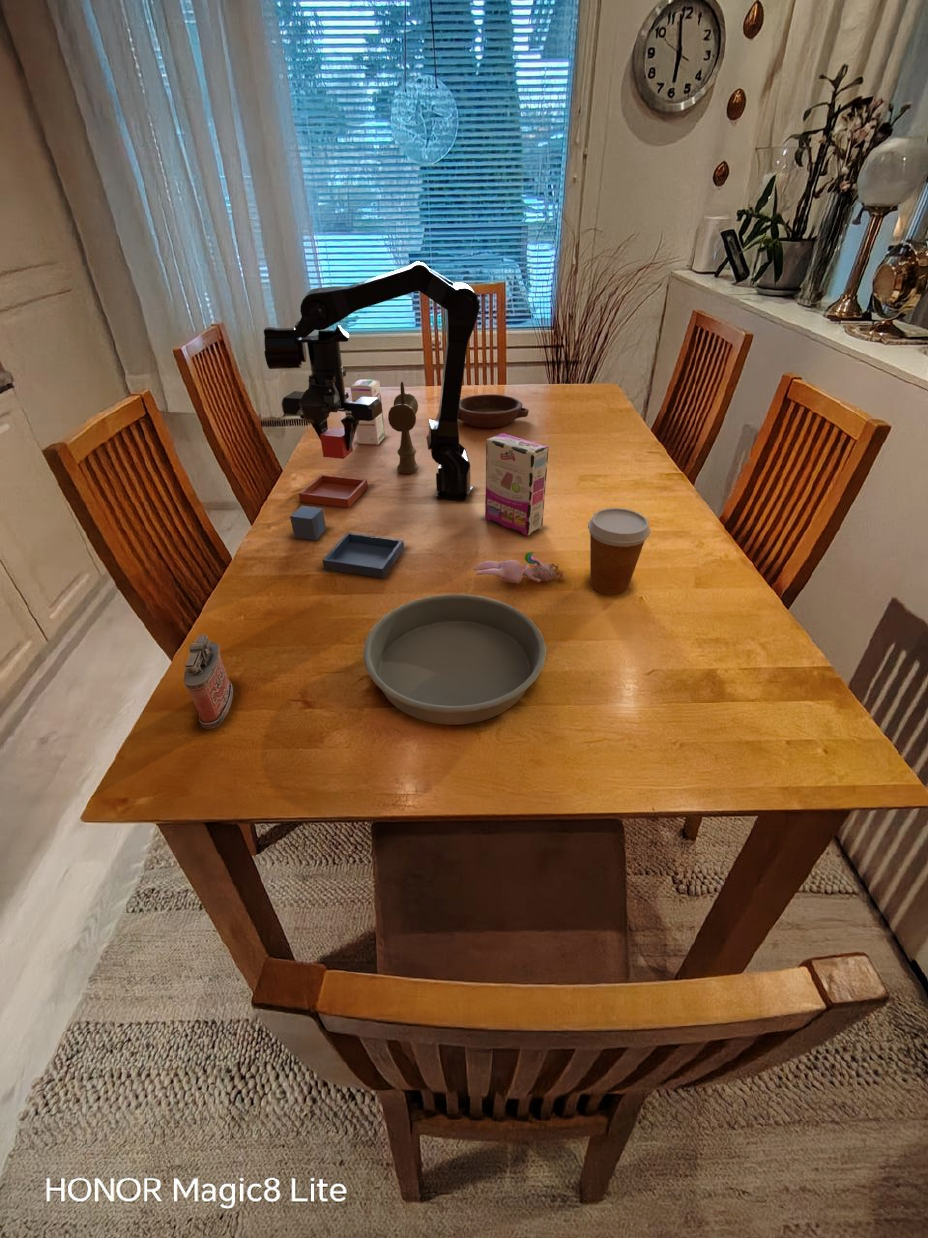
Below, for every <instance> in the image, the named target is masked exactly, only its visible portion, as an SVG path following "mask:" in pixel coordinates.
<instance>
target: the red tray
mask: <svg viewBox="0 0 928 1238" xmlns="http://www.w3.org/2000/svg"><path fill="white" fill-rule="evenodd" d="M368 488H369V483H368V479H366V478H355V477H349V476H347V477H346V476H339V475H331V474H319V475H318V476H317V477H316V478H314V479H313V481H312V482H310V483H309V484H308V485H307V486H305V487H304V488H303V489H302V490H301V491H300V492H298V498H299V502H301V503H308V504H315V505H324V506H330V507H331V506H332V507H340V508H346V509H347V508H348V509H349V508H350V507H351V506H353V504H354V503H355V502H356V501H357V500H358V499H359V498H360V497H362V495H363V494H364V492H365V491H367V490H368Z"/></svg>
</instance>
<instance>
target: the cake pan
mask: <svg viewBox="0 0 928 1238" xmlns="http://www.w3.org/2000/svg"><path fill="white" fill-rule="evenodd" d="M362 653H363V654H362V659H363V663H364V667H365V670H366V671H367V674H368V676H369V677H370V678H371V680H372V681H373V682H374V684H375V685H376V686H377V687H378V688H379V689H380V690H381V691H382V692H383V695H384V696H385V698H386V699H387V700H388V701H389V702H390V704H392V705H393V706H394V707H395V708H397V709H398V710H399V711H401V712H402V713H404V714H405V715H408V716H410V717H412V718H415V719H417V720H420V721H424V722H428V723H430V724H431V723H432V724H437V725H447V726H450V725H451V726H458V725H468V724H474V723H479V722H482V721H483V722H484V721H486V720H490V719H492V718H494V717H497V716H499V715H501V714H503V713H505V712H506V711H508V710H509V709H510V708H512V707H513V706H515V704H517V703H518V702H519V701H520V699H522V697H523V696H524V694H525V693H526V691H527V689H529V688H530V686H532V685H533V684H534V682H535V681H536V680H537V679H538V677H539V676H540V674H541V672H542V671H543V669H544V665H545V663H546V658H547V646H546V643H545V639H544V636H543V634H542V632H541V630H540V628H539V627H538V626H537V624H536V623H535V622H534V621H533V620H532V619H531V618H530V617H529V616H528V615H526V614H524V613H523V612H522V611H520V610H519V609H517V608H515V607H514V606H512V605H510V604H508V603H506V602H503V601H501V600H498V599H494V598H492V597H491V598H490V597H486V596H481V595H475V594H468V593H467V594H465V593H448V594H447V593H446V594H436V595H430V596H425V597H421V598H417V599H415V600H414V599H413V600H412V601H411V600H410V601H409V602H407V603H404V604H401V605H400V606H398V607H396V608H394V609H392V610H391V611H389V612H388V613H386V614H385V615H384V616H383V617H381V618H380V619H379V620H378V621H377V622H376V623H375V625H373V626H372V628H371V630H370V631H369V633H368V635H367V636H366V638H365V641H364V645H363V651H362Z"/></svg>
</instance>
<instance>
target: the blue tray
mask: <svg viewBox="0 0 928 1238" xmlns="http://www.w3.org/2000/svg"><path fill="white" fill-rule="evenodd" d="M404 543H405V542H404V539H398V538H391V537H384V536H383V537H382V536H376V535H369V534H361V533H354V532H346V533H345V534H344V535H343V537H341V539H340V540H339V541H338V542H337V543H336V544H335V545H334V547H333V548H332V549H331V550H330V551H329V552H328V553H327V554H326V556H324V558H323V559H322V565H323V570H325V571H327V570H328V571H334V572H340V573H347V574H352V575H360V576H365V577H373V578H380V579H384V578H385V577H386V575H387V574H388V573H389V571H390V569H391V568H392V567H393V566H394V564H395V563H396V561H397V560H398V558H399V557H400V555H401V554H402V553H403V551H404V550H405V546H404V545H405V544H404Z"/></svg>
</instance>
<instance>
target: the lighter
mask: <svg viewBox="0 0 928 1238" xmlns="http://www.w3.org/2000/svg"><path fill="white" fill-rule="evenodd" d="M184 668H185V670H184V674H183V684H184V686H185V688H186V689H187V690H188V692H189V694H190V696H191V699H192V701H193V704H194V707H195V710H196V711H197V713H198V716H199V717H198V721H199V723H200V725H201V727H202V728H204V729H208V730H209V729H214V728H217V727H219V726H220V725H221V724H222V723H223V721H224V720H225V718H226V716H227V715H228V712H229V710H230V708H231V705H232V702H233V697H234V687H233V684H232V682H231V681H230V680H229V677H228V674H227V671H226V668H225V665H224V662H223V659H222V656H221V649H220V646H219V644H218V642H215V641H210V639H209V637H208V635H206V634H200V635H197V637H196V639H195V641H194V642H193V643H190V645H189V655H188V657H187V660H186V661H185V664H184Z"/></svg>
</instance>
